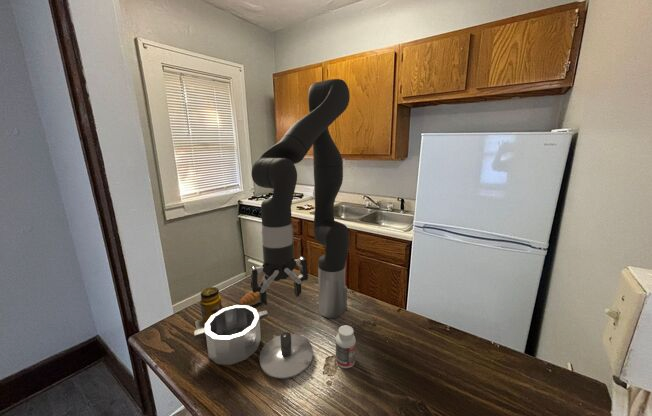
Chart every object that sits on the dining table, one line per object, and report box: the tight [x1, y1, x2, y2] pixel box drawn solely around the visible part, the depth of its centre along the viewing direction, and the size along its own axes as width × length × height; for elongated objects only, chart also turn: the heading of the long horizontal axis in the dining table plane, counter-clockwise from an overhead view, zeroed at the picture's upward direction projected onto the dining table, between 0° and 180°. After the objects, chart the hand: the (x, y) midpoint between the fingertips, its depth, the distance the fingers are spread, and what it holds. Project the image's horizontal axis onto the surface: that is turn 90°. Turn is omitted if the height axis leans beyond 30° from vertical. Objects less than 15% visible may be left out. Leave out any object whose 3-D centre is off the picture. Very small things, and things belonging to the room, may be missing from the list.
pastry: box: [238, 290, 261, 307], centre depth 95 cm, size 9×7×4 cm
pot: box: [193, 304, 269, 366], centre depth 73 cm, size 20×14×8 cm
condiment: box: [194, 286, 223, 330], centre depth 81 cm, size 7×8×12 cm
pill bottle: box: [334, 324, 357, 369], centre depth 67 cm, size 5×5×10 cm
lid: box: [259, 331, 314, 380], centre depth 68 cm, size 14×14×8 cm
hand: (281, 299), depth 65 cm, fingers open, 8 cm apart
